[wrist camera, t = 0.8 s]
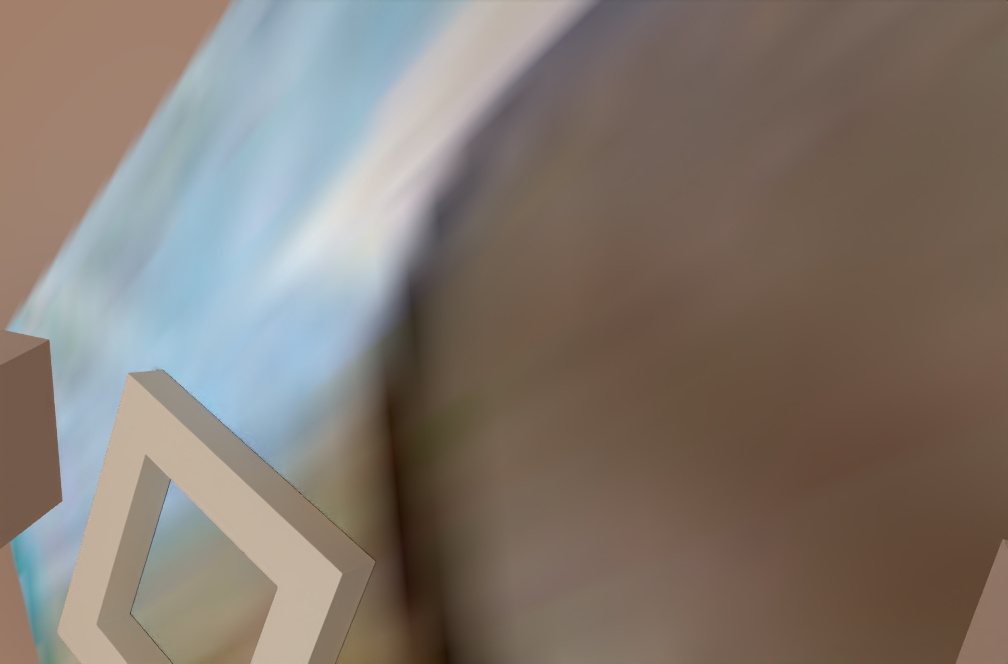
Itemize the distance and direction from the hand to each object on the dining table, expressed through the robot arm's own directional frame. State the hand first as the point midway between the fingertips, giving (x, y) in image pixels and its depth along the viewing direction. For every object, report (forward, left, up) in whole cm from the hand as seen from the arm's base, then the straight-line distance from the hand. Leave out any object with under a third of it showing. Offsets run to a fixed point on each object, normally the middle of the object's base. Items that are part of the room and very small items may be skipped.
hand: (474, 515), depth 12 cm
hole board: (+25, -22, -19) cm, 39 cm away
